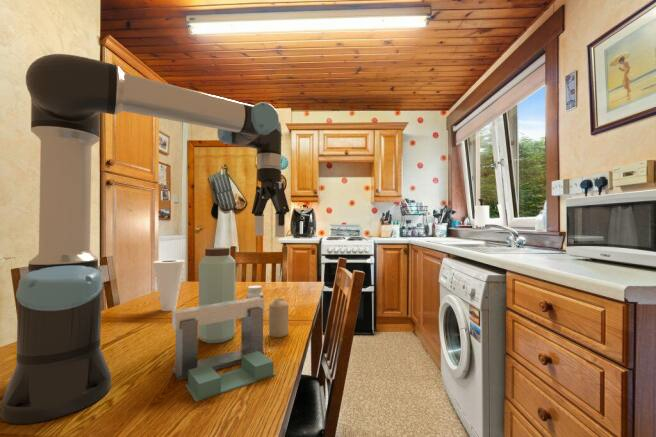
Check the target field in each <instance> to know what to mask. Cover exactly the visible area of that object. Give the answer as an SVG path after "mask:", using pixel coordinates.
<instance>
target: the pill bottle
mask: <svg viewBox="0 0 656 437" xmlns="http://www.w3.org/2000/svg"><path fill="white" fill-rule="evenodd" d="M262 288H263V287H262V285H249V286H248V287H247V291H248V292H247V294H246V299H248V298H254V297H261V298H263V299H264V293H263V292H262V290H263V289H262Z"/></svg>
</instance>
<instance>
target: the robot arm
mask: <svg viewBox="0 0 656 437" xmlns="http://www.w3.org/2000/svg"><path fill="white" fill-rule="evenodd" d="M25 85H26V88H27V91H28V93H29V95H30V103H31V104H30V106H31V107H30V109H31V110H30V131H31V133H32V134H34V135H35V136H36V137H37V138H38V139H39V140H40V151H39V152H40V154H39V156H40V159H39V160H40V161H39V164H40V165H39V211H38V212H39V215H38V217H39V219H38V220H39V222H38V253H37V255H35V256H34V257H33V258H32V259H30V260H29V261H28V266H27V267H28V270H27V271H28V272H27V273H25V274H24V275H22V276H21V278H20V279H19V281H18V284H17V285H18V286H17V289H16V292H15V298H16V299H17V300H16V301H17V323H16V324H17V326H16V328H17V329H16V364H15V368H14V370H13V373H12V374H11V377H10V380H9V382H8V384H7V387H6V390H5V391H4V394H3V397H2V399H1V402H0V419H1V420H2V421H3V422H6V423H8V424H13V425H14V424H15V425H22V424H23V425H26V424H35V423H41V422H46V421H51V420H54V419H58V418H61V417H65V416H67V415H70V414H73V413H75V412H78V411H80V410H83V409H85V408H87V407H88V406H91V405H92V404H95V403H96V402H98V401H99V400H100V399H102V398H103V397H105V395H107V394H108V393H109V391H110V390H111V388H112V387H111V386H112V374H111V373H112V372H111V371H110V368H109V366H108V363H107V361H106V358H105V356H104V353H103V351H102V349H101V335H102V334H101V331H102V330H101V328H102V325H101V324H102V323H101V322H102V320H101V319H102V318H101V317H102V290H103V280H102V275H101V272H100V271H99V258H98V256H96V255H95V254H93V253H92V252H91V207H92V205H91V204H92V199H91V197H92V195H91V194H92V147H93V146H94V145H95V144H97V143H98V142H100V140H101V139H100V138H101V137H100V136H101V131H100V130H101V114H102V113H103V114H109V115H114V116H115V115H118V114H119V113H122V112H126V113H129V114H135V115H142V116H146V117H152V118H157V119H162V120H168V121H173V122H179V123H186V124H189V125H196V126H201V127H207V128H211V129H217V131H216V132H217V138H218V141H219V142H220V143H222V144H226V145H230V146H237V147H245V148H251V149H256V167H257V168H258V169H257V170H256V181H258V182H260V183H261V185H255V194H254V200H253V204H252V209H251V214H252V215H253V216H254V236H255V237H262V236H264V226H265V225H264V224H265V222H264V217H265V215H264V211H265V208H266V206H267V203H268V201H270V200H271V203H272V206H273V208H274V210H275V213H274V215H275V216H274V220H275V221H274V225H275V226H274V228H275V229H274V230H275V231H274V233H275V234H274V237H275V238H282V237H283V238H284V237H285V235H286V234H285V224H286V223H285V222H286V221H285V220H286V218H285V217H286V214H287V213H289V212H290V207H289V204H288V200H287V195H286V193H285V185H284V182H283V181H282V170H281V168H282V135H283V134H282V124H281V122H280V121H279V114H278V111H277V109H276V108H275V107H274V106H273V105H272V104H270V103H268V102H265V101H264V102H259V103H256V104H254V105H253V104H248V103H244V102H239V101H236V100H232V99H228V98H225V97H220V96H217V95H214V94H213V95H212V94H208V93H205V92H202V91H197V90H194V89H189V88H184V87H182V86H181V87H180V86H178V85H174V84H170V83H165V82H161V81H158V80H155V79H149V78H148V77H147V78H146V77H142V76H139V75H135V74H131V73H126V72H124V71H123V70H122V69H121V67H120V66H119V65H117V64H114V63H109V62H106V61H102V60H97V59H94V58H90V57H84V56H80V55H74V54H63V53H54V54H47V55H43V56H41V57H38V58H37V59H34V61H33V62H32V63H31V64H30V65H29V67H28V68H27V71H26V75H25Z"/></svg>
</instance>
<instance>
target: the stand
mask: <svg viewBox="0 0 656 437" xmlns="http://www.w3.org/2000/svg"><path fill="white" fill-rule="evenodd" d="M240 323H241V324H240V326H241V329H240V330H241V332H240V333H241V336H240V337H241V342H240V343H241V346H240V347H241V348H240V349H238V350H234V351H231V352H226V353H223V354H220V355H219V354H218V355H215V356H211V357H208V358H202V359H200V360H198V358H199V357H198V350H199V348H198V340H199V339H198V338H199V337H198V334H199V326H198V320H197V319H196V320H190V321H185V322H181V330H176V331H175V355H174V356H175V359H174V360H175V363H174V364H175V366H173V367H172V371H173V374H174V376H175V377H176V379H177V380H178V381H179V382H180V381H183V380H188V370H190V369H194V368H197V367H201V366H205V365H208V364H209V365H210V366H211V367H212V368H213V369H214V370H215V371H218V370H222V369H225V368H228V367H233V366H236V365H239V364H240V365H241V364H242V355H245V354H249V353H252V352H256V351H259V352H261V353H262V354H263V355H265V351H264V313H263V308H257V309H251V310H250V316H248V317H243V318H241V322H240Z"/></svg>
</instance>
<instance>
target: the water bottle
mask: <svg viewBox="0 0 656 437" xmlns="http://www.w3.org/2000/svg"><path fill="white" fill-rule="evenodd" d="M230 250H231V248H230V247H207V248H205V251H204V252H205V253H204V255H205V256H203V258H201V260H200V261H199V262H198V306H203V305H209V304H215V303H222V302H228V301H235V300H236V267H237V266H236V265H237V264H236V261H237V260H236V259H234V257H233V256H231V253H230V252H231V251H230ZM235 332H236V319H232V320H227V321H222V322H217V323H212V324H207V325H202V326H198V338H199V340H200V341H201V342H204V343H207V344H219V343H224V342H227V341H230V340H232V338H233V337H234V334H235Z"/></svg>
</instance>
